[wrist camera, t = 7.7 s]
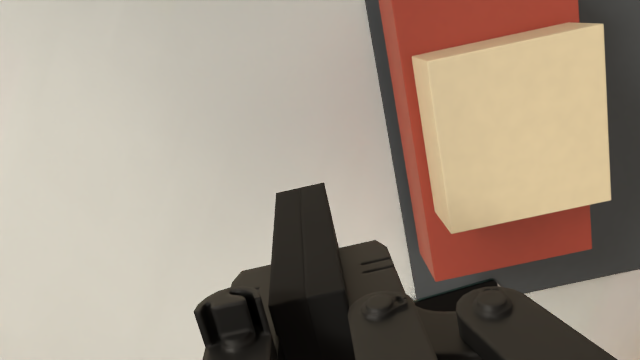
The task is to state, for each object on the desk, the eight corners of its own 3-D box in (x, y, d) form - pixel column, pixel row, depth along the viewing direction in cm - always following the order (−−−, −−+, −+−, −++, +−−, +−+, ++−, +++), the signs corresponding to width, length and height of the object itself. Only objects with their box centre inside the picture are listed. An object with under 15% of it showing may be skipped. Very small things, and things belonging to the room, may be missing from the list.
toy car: (403, -8, 19) (614, -53, 19) (373, -2, 26) (529, -36, 26) (451, 311, 23) (625, 274, 23) (414, 244, 29) (549, 215, 29)
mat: (355, -57, 25) (355, -57, 25) (694, -131, 25) (698, -132, 25) (419, 313, 31) (419, 315, 31) (692, 255, 31) (695, 257, 31)
